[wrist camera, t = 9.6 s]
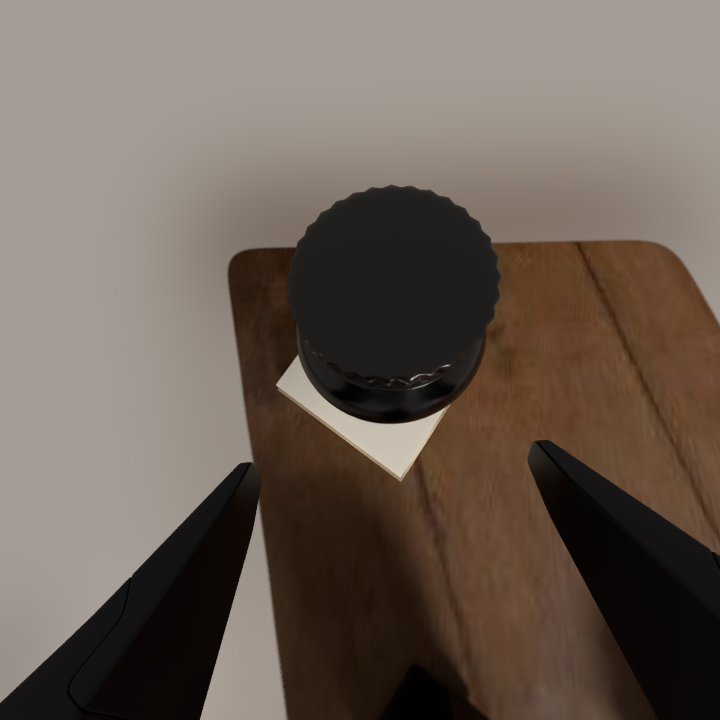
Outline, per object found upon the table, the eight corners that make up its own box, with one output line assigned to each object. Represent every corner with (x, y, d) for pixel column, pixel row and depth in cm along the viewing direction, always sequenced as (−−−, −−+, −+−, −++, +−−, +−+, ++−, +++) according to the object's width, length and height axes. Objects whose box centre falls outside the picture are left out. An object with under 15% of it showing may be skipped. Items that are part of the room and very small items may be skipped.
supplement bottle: (318, 347, 18) (197, 227, 6) (404, 299, 18) (440, 97, 7) (366, 439, 17) (323, 498, 5) (460, 386, 17) (633, 323, 5)
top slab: (398, 470, 18) (400, 477, 16) (286, 387, 20) (275, 384, 18) (475, 351, 19) (485, 344, 17) (362, 283, 21) (359, 270, 19)
